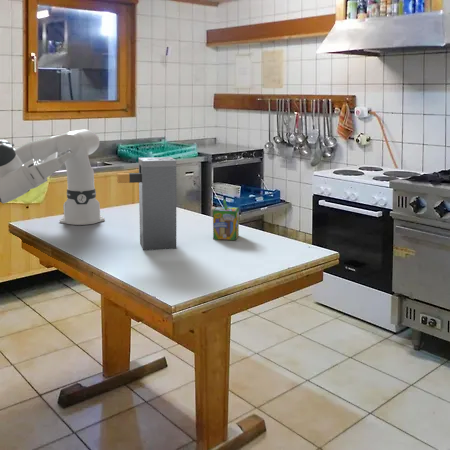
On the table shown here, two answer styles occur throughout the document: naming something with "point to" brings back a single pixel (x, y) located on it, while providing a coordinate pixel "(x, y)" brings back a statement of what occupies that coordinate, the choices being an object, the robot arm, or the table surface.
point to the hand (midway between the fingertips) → (71, 152)
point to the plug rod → (128, 177)
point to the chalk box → (225, 222)
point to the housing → (157, 203)
